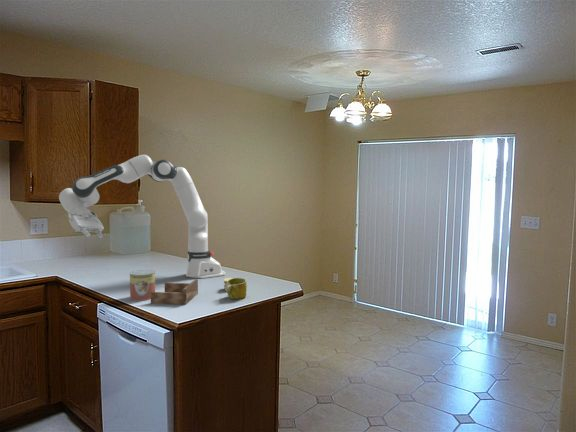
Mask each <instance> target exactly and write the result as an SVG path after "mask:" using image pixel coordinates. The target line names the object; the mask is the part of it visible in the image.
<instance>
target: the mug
mask: <svg viewBox="0 0 576 432" xmlns="http://www.w3.org/2000/svg"><path fill="white" fill-rule="evenodd" d="M232 278H233V277H232ZM247 287H248V285H247V279H245V278H242V277H235V278H233V279H230V280H228V281H227V286H226V289H225V292H226V293H227V297H228V299H229V300H240V299H245V298H246V296H247V289H248V288H247Z"/></svg>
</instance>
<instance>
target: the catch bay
mask: <svg viewBox="0 0 576 432" xmlns="http://www.w3.org/2000/svg"><path fill="white" fill-rule="evenodd" d="M198 279H199V278H197V279H196V278H194V280H192V281H191V282H189V283H186V282H165V283H164V291H155V292H151V299H150V304H155V305H156V304H157V305H159V304H160V305H161V304H163V305H187V304H188V303H190V301H192V300H193V299H194V298H195V297H196V296H197V295H198V294H199V280H198Z"/></svg>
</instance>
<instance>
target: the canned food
mask: <svg viewBox="0 0 576 432" xmlns="http://www.w3.org/2000/svg"><path fill="white" fill-rule="evenodd" d="M155 273H156V271H155V270H153V269H138V270H133V271H130V272H129V292H130V296H129V298H130V301H135V302H138V301H139V302H141V301H142V302H143V301H151V292H156V274H155Z"/></svg>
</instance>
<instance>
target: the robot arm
mask: <svg viewBox="0 0 576 432" xmlns="http://www.w3.org/2000/svg"><path fill="white" fill-rule="evenodd" d="M146 175H147V176H148V177H150V178H151V180H153V181H155V182H157V183H163V182H165V181H169V182H170V183H171V185H172V186H173V189H174V191H175V194H176V195H177V198H178V200H179V202H180V204H181V207H182V210H183V213H184V215H185V218H186V220H187V223H188V232H187V233H188V234H187V236H188V238H187V239H188V240H187V243H188V245H187V246H188V248H187V249H188V251H187V269H186V273H185V276H186V277H187V278H188V277H189V278H194V279H196V278H197V279H207V278H214V277H221V276H226V271H225V270H222V266H221V263H220V262H219V261H218V260H216V259H215V258H213V257H212V256H214V254H215V253H214V252H213V251H210V250H209V225H208V224H209V221H208V220H209V218H208V217H209V215H208V212H207V211H206V209H205V207H204V205H203V203H202V200H201V198H200V194H199V193H198V190H197V188H196V186H195V183H194V181H193V178H192V176H191V175H190V173H189V172H188V170H187V169H186V168H185V167H182V166H178V167H177V166H176V165H174V164H173V163H171V162H170V161H169V160H167V159H158V160H157V161H153V160H152V158H151V157H150V156H149V155H147V154H140V155H137V156H134V157H132V158H130V159H128V160H126V161H124V162H122V163H120V164H115V165H112V166H111V165H110V166H108V167H107V168H104V169H102V170H100V171H97V172H95V173H93V174H90V175H86V176H81V177H80V176H79V178H78V177H77V178H76V179H75V180H74V182H73V183H72V185H71V187H66V188H64V189H63V190H62V191H60V193H59V195H58V199H59V202H60V205H61V206H62V207H63V209H64V211H66V212H67V218H68V222H69V224H70V226H71V228H72V229H73V230H74V231H79V232H81V233H83V235H84V236H85V237H87V238H90V237H91V233H95V234H97V236H96V237H98V238H99V239H102V238H103V237H104V235H103V233H102V232H103V231H104V229H105V227H104V225H103V223H102V222H101V220H100V219H99V218H98V215H97V214H96V213H95V212H93V211H91V210H90V209H88V208H90V207H92V206H94V205H96V204H97V203H98V202H99V201H100V193H99V190H97V187H99V186H101V185H103V184H106V183H107V182H110V181H113V180H117V181H119V182H121V183H125V184H131V183H133V182H136V181H137V180H138V179H140V178H142V177H144V176H146Z"/></svg>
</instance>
